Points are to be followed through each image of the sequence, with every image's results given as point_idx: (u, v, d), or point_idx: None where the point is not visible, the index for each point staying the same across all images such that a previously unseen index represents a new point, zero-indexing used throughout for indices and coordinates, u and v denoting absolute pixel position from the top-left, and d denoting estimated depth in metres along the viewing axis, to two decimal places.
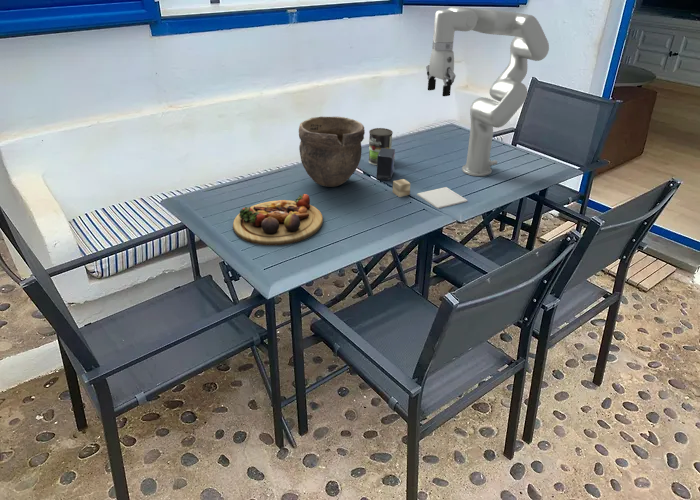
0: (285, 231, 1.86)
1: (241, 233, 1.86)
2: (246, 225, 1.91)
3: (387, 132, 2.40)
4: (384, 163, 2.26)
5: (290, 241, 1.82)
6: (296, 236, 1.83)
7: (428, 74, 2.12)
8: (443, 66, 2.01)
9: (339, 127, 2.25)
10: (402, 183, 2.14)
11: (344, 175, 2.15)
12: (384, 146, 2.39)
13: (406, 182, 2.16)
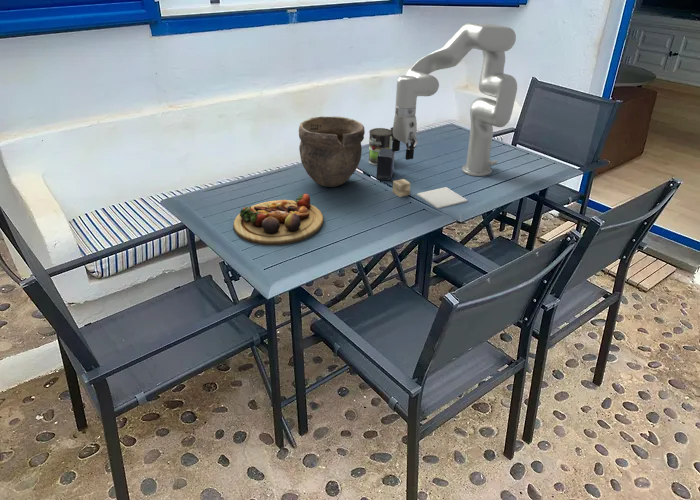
0: (286, 231, 1.87)
1: (242, 233, 1.86)
2: (247, 225, 1.91)
3: (387, 132, 2.40)
4: (384, 163, 2.26)
5: (291, 241, 1.82)
6: (297, 236, 1.84)
7: (392, 136, 2.11)
8: (405, 131, 2.00)
9: (339, 127, 2.25)
10: (402, 183, 2.14)
11: (344, 175, 2.15)
12: (384, 146, 2.39)
13: (406, 182, 2.16)
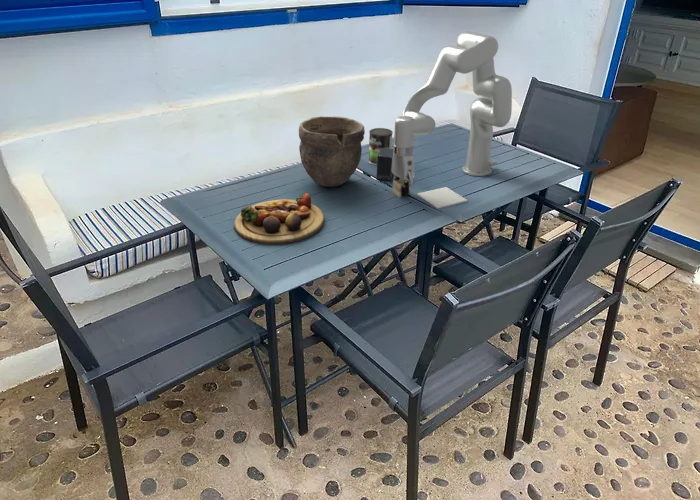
0: (286, 230, 1.87)
1: (242, 232, 1.86)
2: (248, 224, 1.91)
3: (387, 132, 2.40)
4: (384, 163, 2.26)
5: (291, 240, 1.83)
6: (297, 235, 1.84)
7: (394, 175, 2.18)
8: (404, 169, 2.08)
9: (339, 127, 2.25)
10: (401, 183, 2.14)
11: (344, 175, 2.15)
12: (384, 146, 2.39)
13: (406, 181, 2.16)
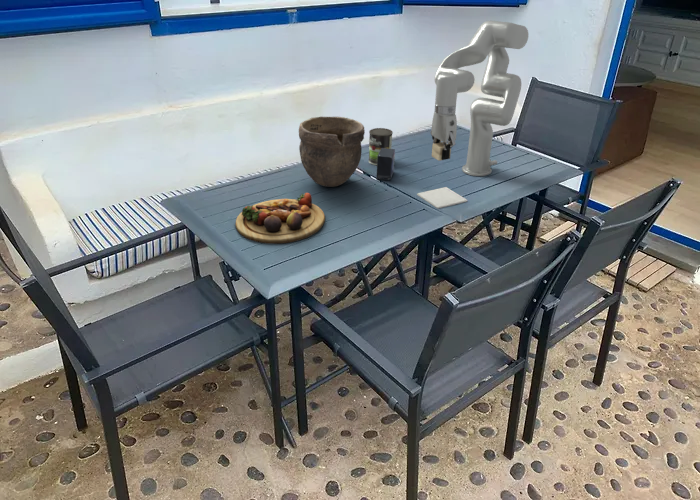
0: (288, 230, 1.87)
1: (244, 231, 1.87)
2: (249, 223, 1.92)
3: (387, 132, 2.40)
4: (384, 163, 2.26)
5: (292, 239, 1.83)
6: (298, 234, 1.84)
7: (433, 138, 2.07)
8: (445, 130, 1.96)
9: (339, 127, 2.25)
10: (442, 146, 2.03)
11: (344, 175, 2.15)
12: (384, 146, 2.39)
13: (446, 144, 2.04)
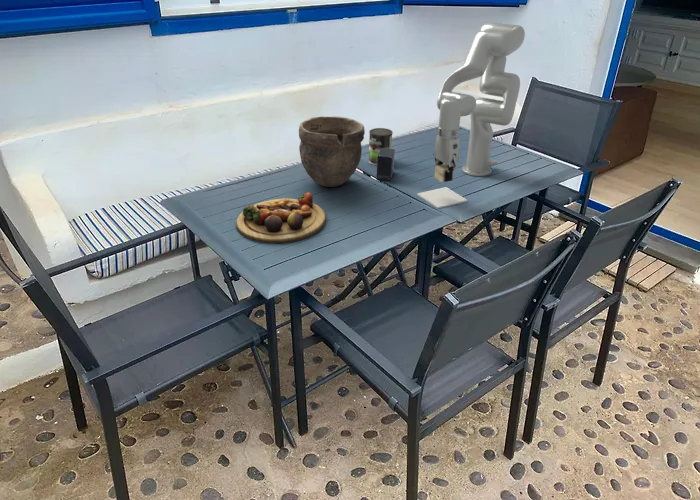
0: (288, 229, 1.88)
1: (244, 231, 1.87)
2: (249, 223, 1.92)
3: (387, 132, 2.40)
4: (384, 163, 2.26)
5: (293, 239, 1.83)
6: (299, 234, 1.85)
7: (436, 160, 2.10)
8: (449, 152, 2.00)
9: (339, 127, 2.25)
10: (445, 168, 2.06)
11: (344, 175, 2.15)
12: (384, 146, 2.39)
13: (449, 166, 2.08)
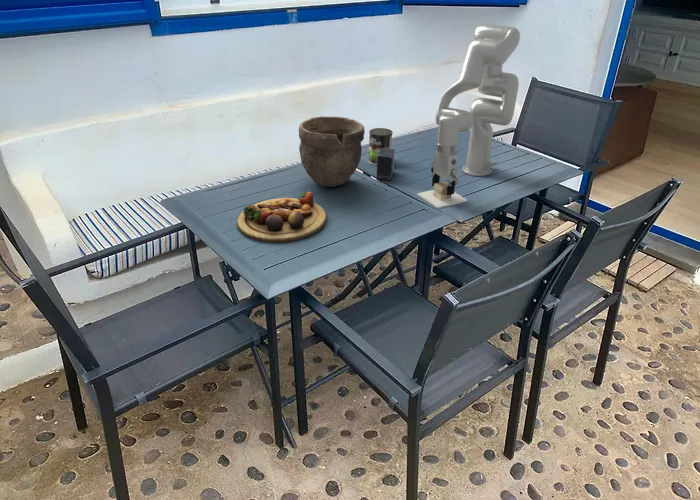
0: (289, 229, 1.88)
1: (245, 230, 1.88)
2: (250, 222, 1.93)
3: (387, 132, 2.40)
4: (384, 163, 2.26)
5: (294, 238, 1.84)
6: (300, 233, 1.85)
7: (432, 170, 2.14)
8: (447, 168, 2.03)
9: (339, 127, 2.25)
10: (443, 186, 2.10)
11: (344, 175, 2.15)
12: (384, 146, 2.39)
13: None
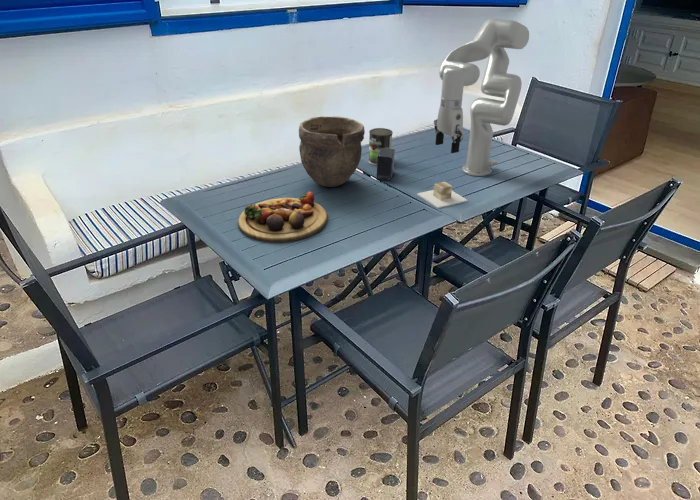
0: (290, 228, 1.88)
1: (246, 230, 1.88)
2: (251, 222, 1.93)
3: (387, 132, 2.40)
4: (384, 163, 2.26)
5: (295, 238, 1.84)
6: (301, 233, 1.85)
7: (436, 128, 2.06)
8: (452, 123, 1.95)
9: (339, 127, 2.25)
10: (443, 186, 2.10)
11: (344, 175, 2.15)
12: (384, 146, 2.39)
13: (448, 184, 2.12)
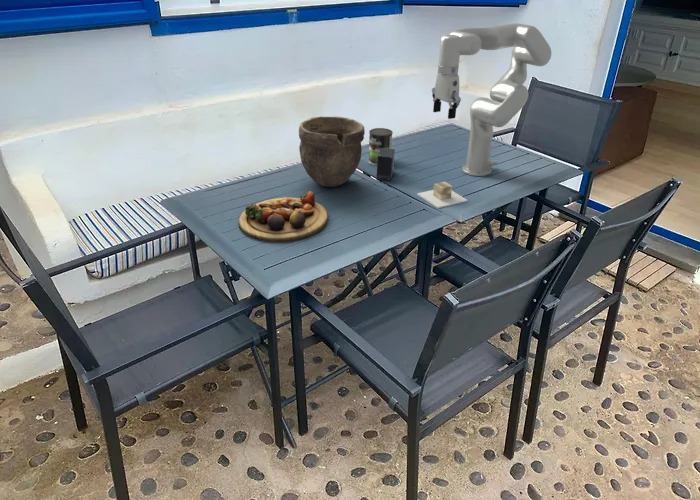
0: (291, 228, 1.88)
1: (247, 230, 1.88)
2: (252, 222, 1.93)
3: (387, 132, 2.40)
4: (384, 163, 2.26)
5: (295, 238, 1.84)
6: (301, 233, 1.85)
7: (434, 96, 2.16)
8: (449, 90, 2.04)
9: (339, 127, 2.25)
10: (443, 186, 2.10)
11: (344, 175, 2.15)
12: (384, 146, 2.39)
13: (448, 184, 2.12)
